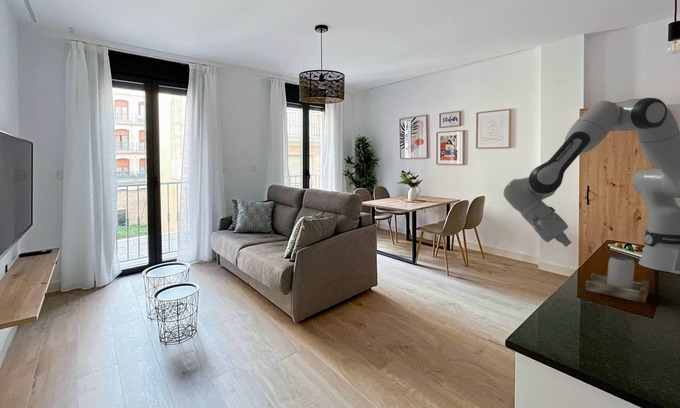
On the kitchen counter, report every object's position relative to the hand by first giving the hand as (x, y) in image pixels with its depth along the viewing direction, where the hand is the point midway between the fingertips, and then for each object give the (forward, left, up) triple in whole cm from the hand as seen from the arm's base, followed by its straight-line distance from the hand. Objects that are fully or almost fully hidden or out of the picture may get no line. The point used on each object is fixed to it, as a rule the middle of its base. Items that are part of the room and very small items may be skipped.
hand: (568, 244), depth 119 cm
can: (-11, +11, -13) cm, 20 cm away
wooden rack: (-10, +10, -13) cm, 19 cm away
